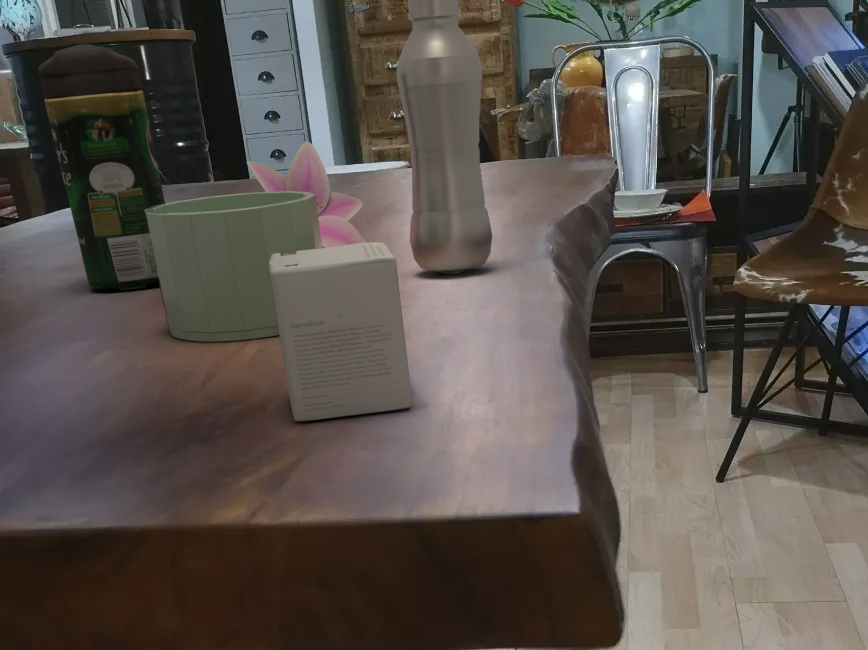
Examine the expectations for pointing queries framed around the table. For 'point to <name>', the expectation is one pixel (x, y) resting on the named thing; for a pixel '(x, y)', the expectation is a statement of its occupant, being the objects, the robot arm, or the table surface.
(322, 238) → the lily
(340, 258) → the white cardboard box
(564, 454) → the table surface
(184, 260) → the green flower pot
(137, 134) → the coffee jar
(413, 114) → the plastic bottle
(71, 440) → the table surface
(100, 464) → the table surface
